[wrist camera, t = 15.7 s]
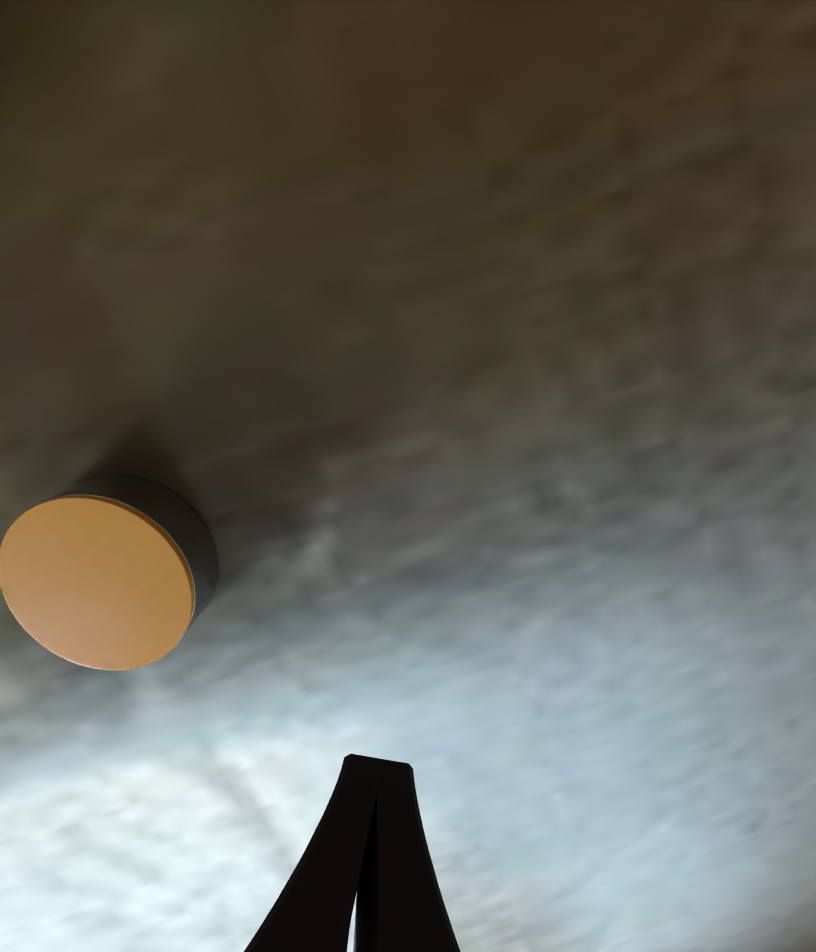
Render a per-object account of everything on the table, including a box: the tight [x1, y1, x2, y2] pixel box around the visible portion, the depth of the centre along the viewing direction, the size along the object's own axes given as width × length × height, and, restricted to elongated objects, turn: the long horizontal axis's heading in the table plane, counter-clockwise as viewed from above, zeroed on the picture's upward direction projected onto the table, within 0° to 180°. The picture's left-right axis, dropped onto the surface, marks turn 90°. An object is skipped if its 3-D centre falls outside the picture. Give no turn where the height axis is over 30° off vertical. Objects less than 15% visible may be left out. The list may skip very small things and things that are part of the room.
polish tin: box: [0, 475, 218, 670], centre depth 20 cm, size 7×7×2 cm
